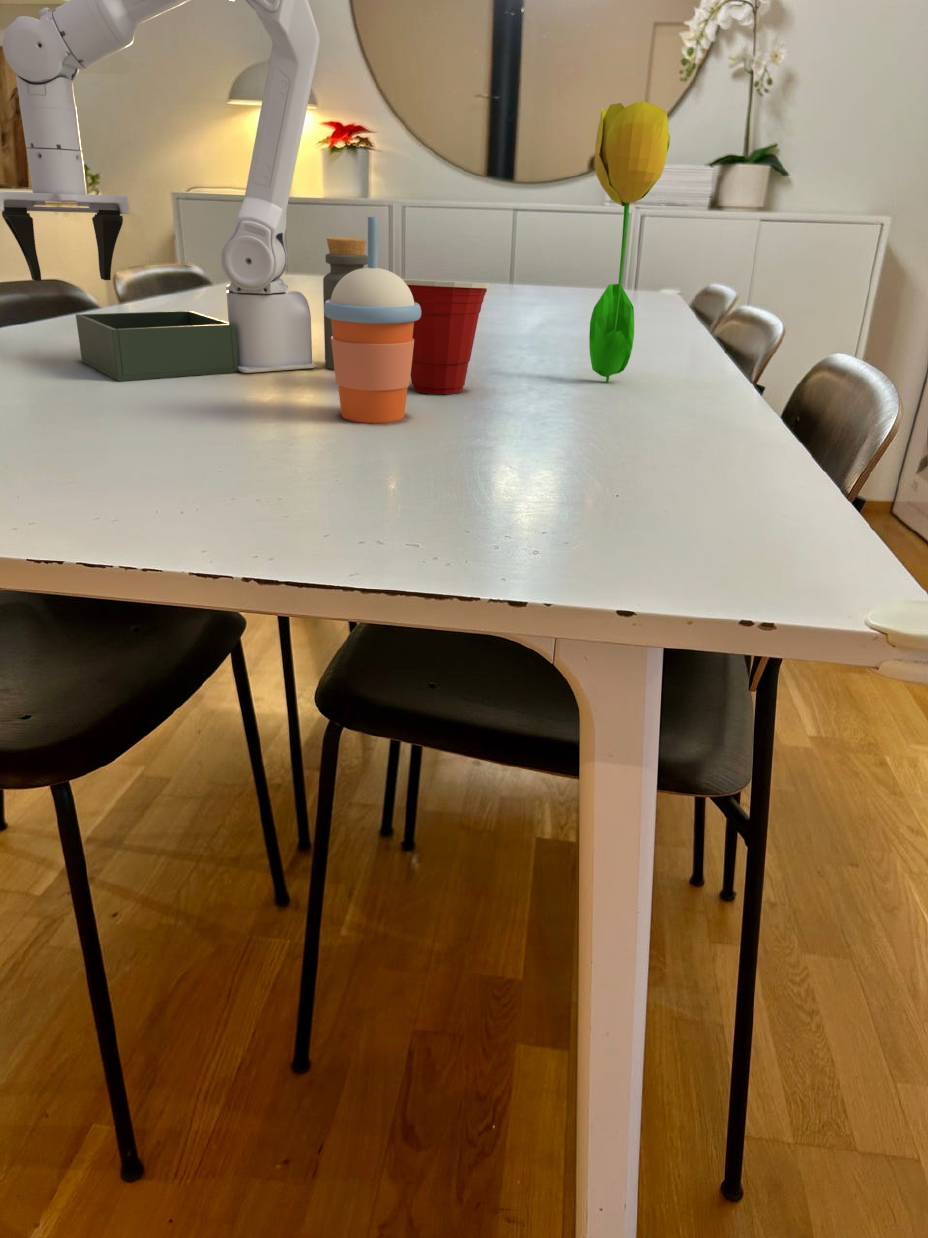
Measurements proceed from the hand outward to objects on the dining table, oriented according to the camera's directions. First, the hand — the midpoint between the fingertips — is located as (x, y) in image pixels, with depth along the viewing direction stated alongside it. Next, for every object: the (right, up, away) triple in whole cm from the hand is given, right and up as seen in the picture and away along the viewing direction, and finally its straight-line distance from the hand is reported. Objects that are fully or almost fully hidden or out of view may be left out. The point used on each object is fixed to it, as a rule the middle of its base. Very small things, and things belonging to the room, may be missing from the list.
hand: (71, 279), depth 106 cm
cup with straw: (+37, -20, -17) cm, 46 cm away
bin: (+9, -9, +3) cm, 14 cm away
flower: (+64, -11, +5) cm, 65 cm away
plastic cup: (+43, -14, -3) cm, 46 cm away
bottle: (+32, -8, +8) cm, 34 cm away
